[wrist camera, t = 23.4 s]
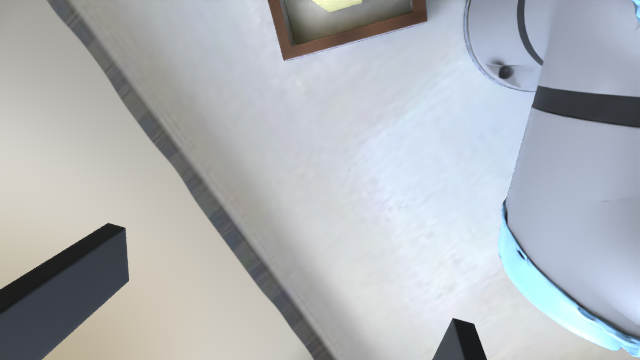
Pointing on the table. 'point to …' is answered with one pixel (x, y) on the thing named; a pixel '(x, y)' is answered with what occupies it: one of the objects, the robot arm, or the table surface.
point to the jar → (336, 4)
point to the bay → (343, 38)
